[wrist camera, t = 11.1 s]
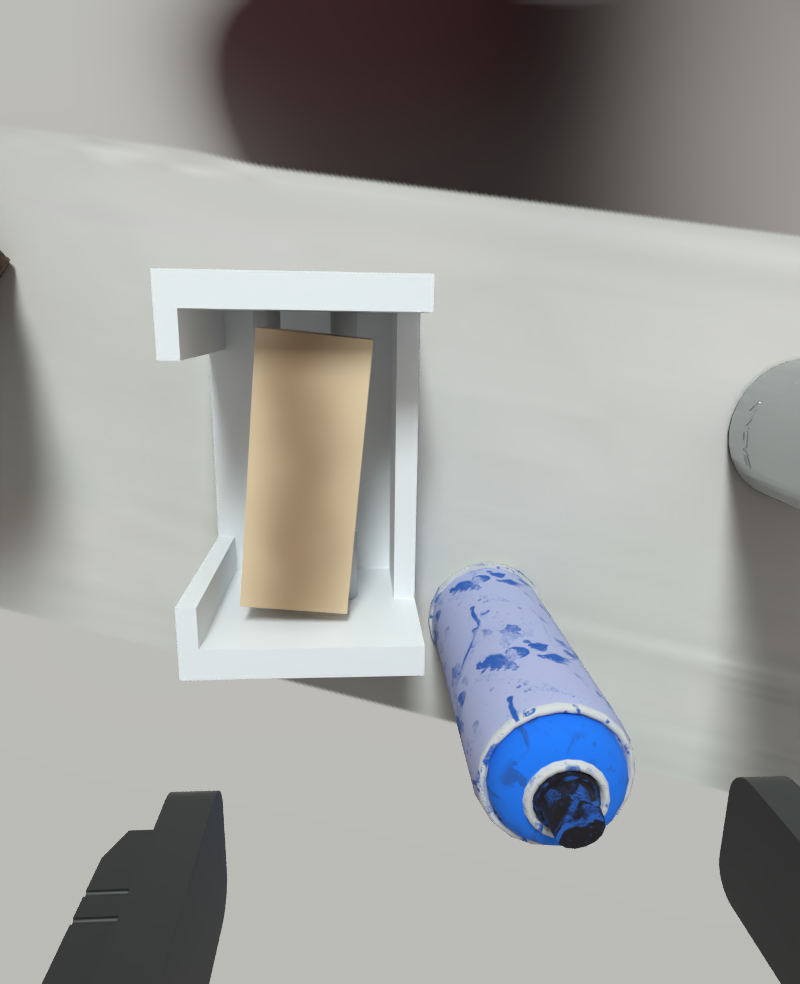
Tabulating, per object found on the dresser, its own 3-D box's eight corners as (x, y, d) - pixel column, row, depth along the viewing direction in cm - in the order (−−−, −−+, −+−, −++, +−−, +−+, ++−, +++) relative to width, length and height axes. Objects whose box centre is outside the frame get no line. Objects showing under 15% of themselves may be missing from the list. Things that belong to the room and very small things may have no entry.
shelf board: (371, 338, 36) (373, 340, 32) (347, 588, 39) (346, 614, 36) (264, 326, 35) (255, 327, 32) (249, 580, 38) (240, 606, 35)
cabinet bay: (411, 286, 41) (434, 273, 29) (405, 584, 46) (424, 675, 34) (208, 282, 40) (150, 268, 29) (224, 587, 45) (179, 680, 33)
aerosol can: (449, 683, 48) (515, 931, 29) (412, 585, 46) (456, 781, 27) (555, 646, 48) (693, 869, 28) (522, 546, 46) (647, 713, 26)
